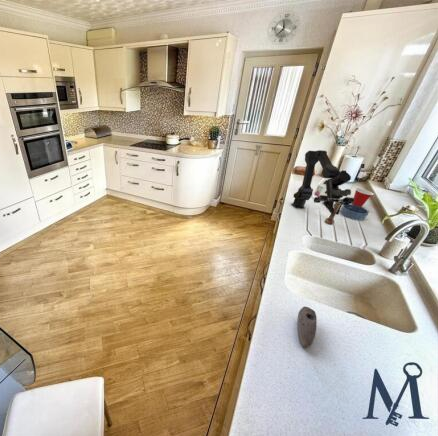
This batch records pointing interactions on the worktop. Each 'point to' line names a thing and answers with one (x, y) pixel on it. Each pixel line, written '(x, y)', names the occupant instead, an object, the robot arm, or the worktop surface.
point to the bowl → (354, 212)
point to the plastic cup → (361, 196)
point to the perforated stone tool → (306, 326)
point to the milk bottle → (321, 188)
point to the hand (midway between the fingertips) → (334, 214)
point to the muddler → (332, 215)
